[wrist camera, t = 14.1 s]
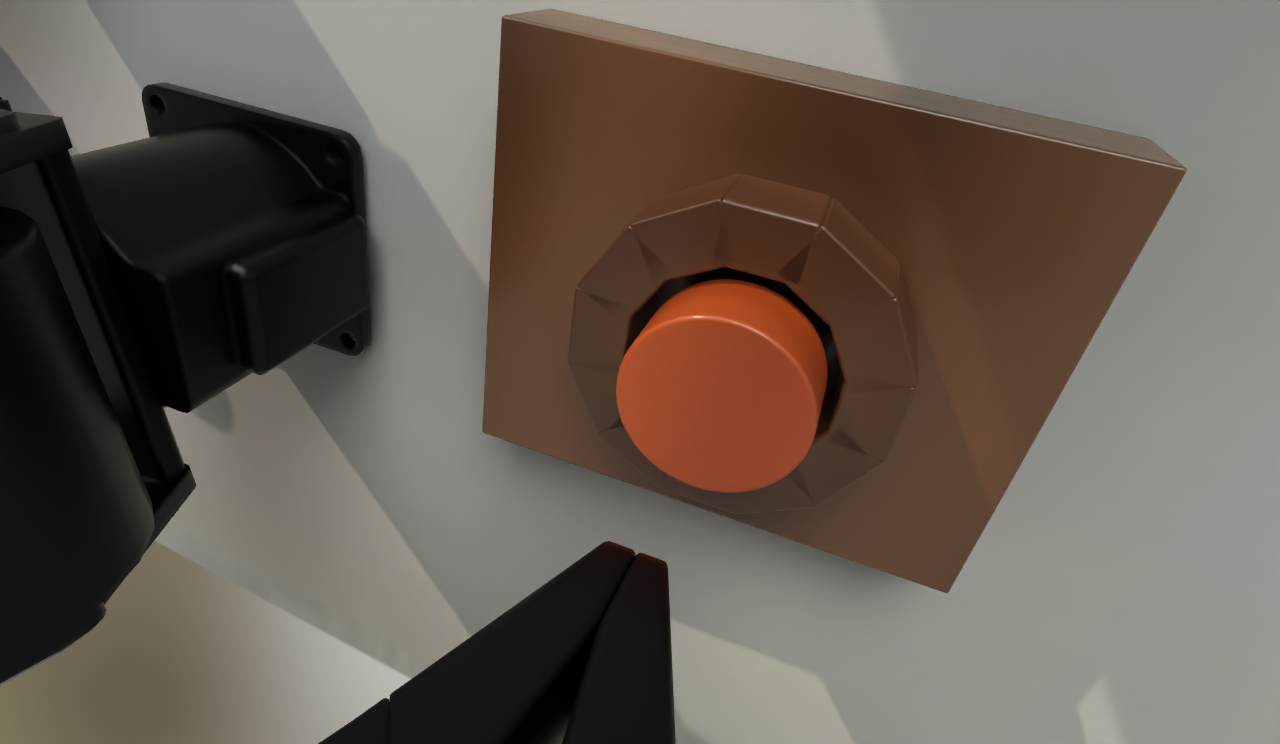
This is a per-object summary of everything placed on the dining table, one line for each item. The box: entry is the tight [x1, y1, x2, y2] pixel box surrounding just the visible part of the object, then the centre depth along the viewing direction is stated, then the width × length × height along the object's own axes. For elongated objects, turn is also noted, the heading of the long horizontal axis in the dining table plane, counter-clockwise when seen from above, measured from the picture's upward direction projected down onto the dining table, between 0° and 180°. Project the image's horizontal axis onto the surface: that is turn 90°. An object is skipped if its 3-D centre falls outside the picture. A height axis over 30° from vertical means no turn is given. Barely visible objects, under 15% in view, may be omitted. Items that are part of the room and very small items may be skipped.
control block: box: [483, 9, 1186, 593], centre depth 15 cm, size 12×10×4 cm
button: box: [616, 279, 828, 493], centre depth 13 cm, size 4×4×2 cm
